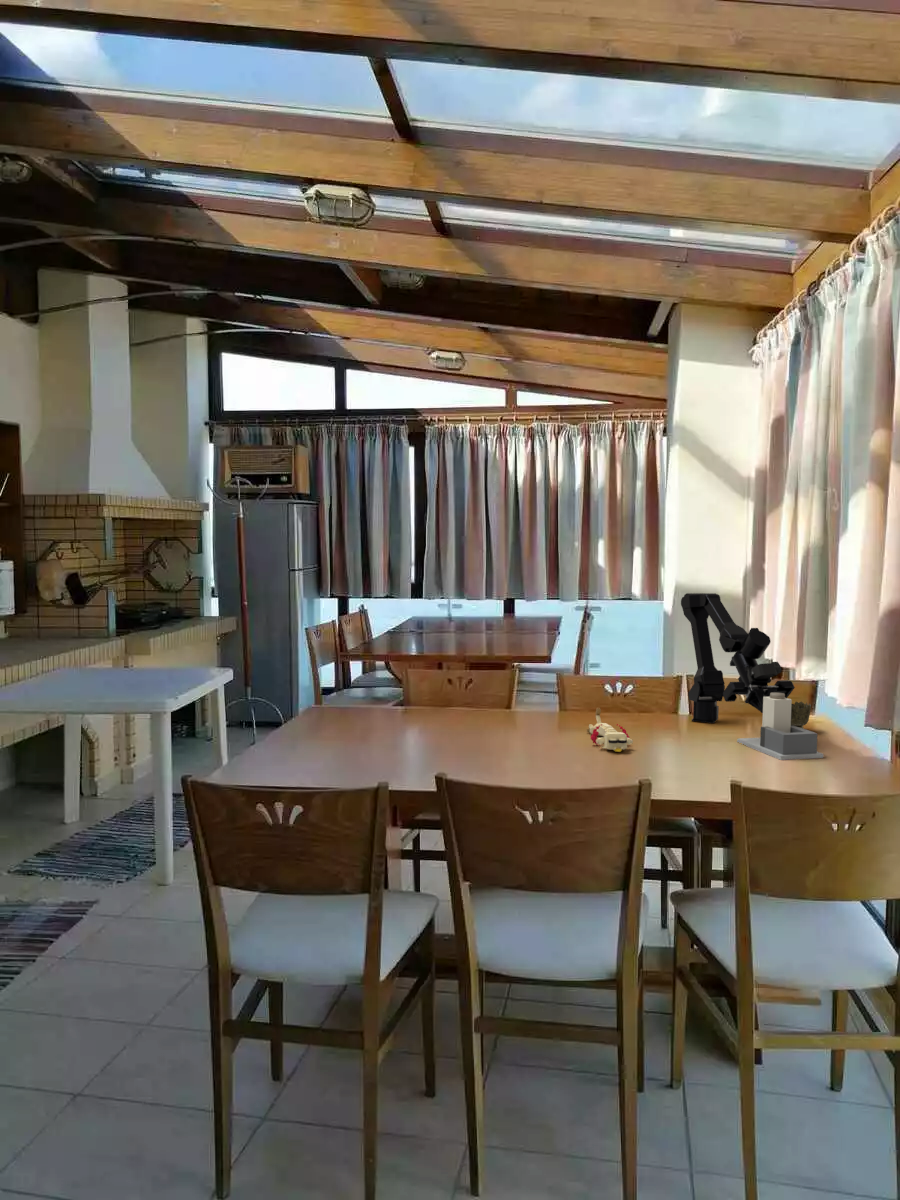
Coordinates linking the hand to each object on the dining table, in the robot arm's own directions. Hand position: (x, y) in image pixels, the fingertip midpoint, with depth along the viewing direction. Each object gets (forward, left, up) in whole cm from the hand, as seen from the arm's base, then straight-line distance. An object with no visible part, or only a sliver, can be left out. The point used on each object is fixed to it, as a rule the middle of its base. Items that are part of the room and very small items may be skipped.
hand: (770, 716), depth 238 cm
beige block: (+2, -2, -7) cm, 7 cm away
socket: (+3, -3, -8) cm, 9 cm away
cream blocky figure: (-38, -19, -8) cm, 44 cm away
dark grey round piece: (+3, +25, -8) cm, 27 cm away
